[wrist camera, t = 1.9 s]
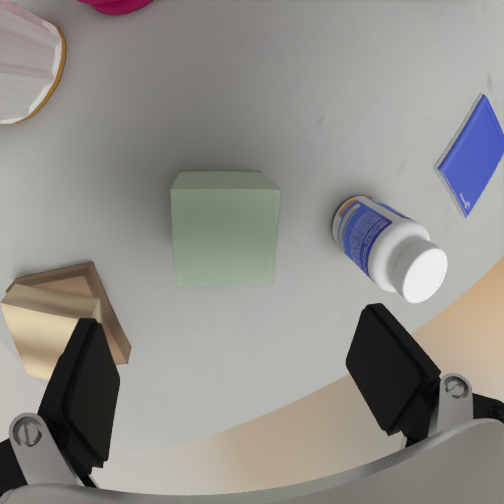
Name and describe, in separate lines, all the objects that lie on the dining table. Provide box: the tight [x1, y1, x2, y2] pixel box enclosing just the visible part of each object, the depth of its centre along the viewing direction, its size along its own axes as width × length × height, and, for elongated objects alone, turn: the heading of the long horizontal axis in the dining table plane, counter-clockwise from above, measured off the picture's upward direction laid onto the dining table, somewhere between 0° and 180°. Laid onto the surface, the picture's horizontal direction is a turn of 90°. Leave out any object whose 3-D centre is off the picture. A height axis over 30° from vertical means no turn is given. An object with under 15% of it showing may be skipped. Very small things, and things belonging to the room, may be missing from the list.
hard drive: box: [434, 94, 504, 218], centre depth 22 cm, size 2×8×12 cm
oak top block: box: [0, 284, 104, 380], centre depth 20 cm, size 9×9×3 cm
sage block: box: [170, 171, 281, 287], centre depth 19 cm, size 6×6×6 cm
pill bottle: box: [332, 196, 447, 303], centre depth 20 cm, size 5×5×10 cm
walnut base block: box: [6, 262, 131, 365], centre depth 23 cm, size 10×10×3 cm
